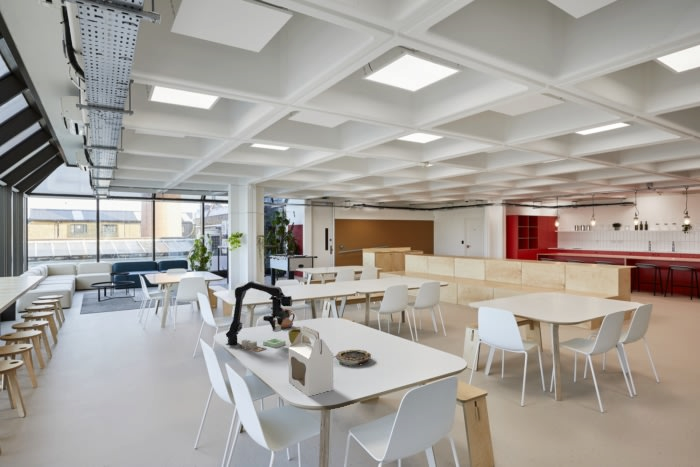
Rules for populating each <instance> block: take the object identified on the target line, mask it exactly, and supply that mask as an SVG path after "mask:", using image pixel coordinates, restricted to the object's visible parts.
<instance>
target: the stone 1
mask: <svg viewBox="0 0 700 467" xmlns="http://www.w3.org/2000/svg"><path fill="white" fill-rule="evenodd" d="M250 341H251V340H250V339H248V338H247V339H243V340H241V345H242V347H245V348H246V347H248V342H250Z"/></svg>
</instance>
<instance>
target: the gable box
mask: <svg viewBox="0 0 700 467" xmlns="http://www.w3.org/2000/svg"><path fill="white" fill-rule="evenodd" d="M299 329H300V333H299V334H298V335H297V337H296V338H295V340H294V341H293V343H292V344H291V343H290V346H289V347H288V383H289V384H291V385H292V386H293V385H294V386H293V387H295V388H296V389H298V391H300V390H301V391H300V392H301V393H303V394H304V395H306V396H307V395H308V396H307V397H309V396H310V397H313V396H312V395H314V396H317V395H316V394H318V395H320V394H319V393H321V394H324V393H323V392H325V393H327V392H326V391H329V392H331V391H330V390H333V391H334V358H333V357H334V352H332V351H331V349H330V348H329V346H328V345H327V343H326V342H325V340H324V339H323V338H320V333H319V331H317V330H314V329H312V328H310V327H308V326H307V327H306V326H305V325H303V326H302V327H301V328H299ZM310 339H311V340H313V341H314V343H312V342H311V340H310Z"/></svg>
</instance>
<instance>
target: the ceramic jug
mask: <svg viewBox="0 0 700 467" xmlns="http://www.w3.org/2000/svg"><path fill="white" fill-rule="evenodd" d="M285 310H288V311H289V317H287V318H286V319H284V320H283V322H282V324H281V329H289V328H291V327H292V326H293V325H294V323H293V322H294V320H295V313H294V312H292V311H293V310H292V309H291V308H283V311H285ZM291 316H292V318H291ZM290 318H291V319H290ZM276 324H278V323H277V321H276V322H275V325H276Z"/></svg>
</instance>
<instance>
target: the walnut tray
mask: <svg viewBox="0 0 700 467" xmlns="http://www.w3.org/2000/svg"><path fill="white" fill-rule="evenodd" d="M237 348H240V349H243V350H244V349H245V350H249V351H252V352H256V353H260V352H262V351H266V350H268V348H266V347H262V346H258V345H257V348H255V349H249V348H248V347H246V348H245V347H242V344H241V345H238V347H237Z"/></svg>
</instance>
